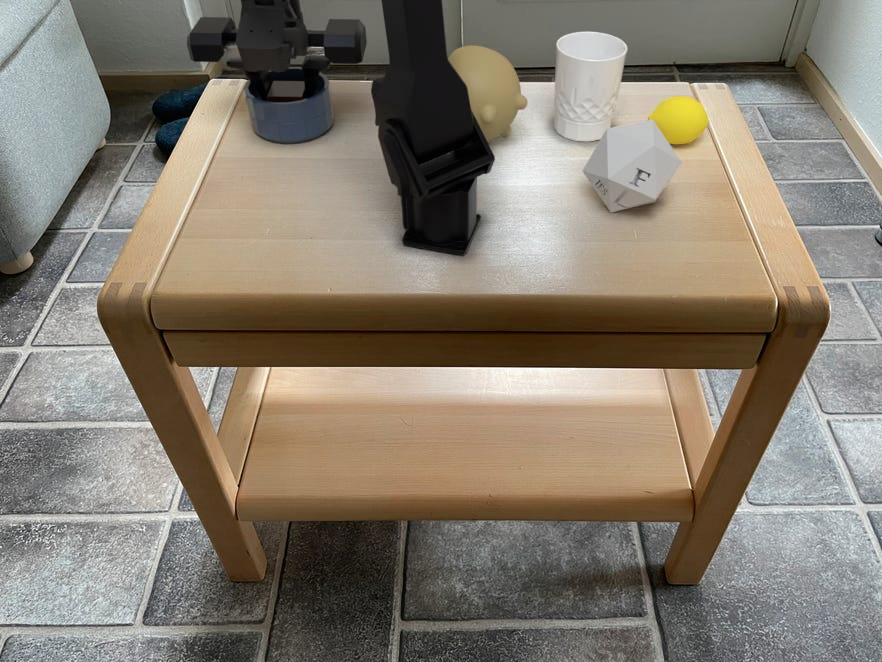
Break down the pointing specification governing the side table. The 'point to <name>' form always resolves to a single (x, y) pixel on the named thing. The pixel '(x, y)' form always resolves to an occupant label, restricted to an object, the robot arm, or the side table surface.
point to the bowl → (291, 111)
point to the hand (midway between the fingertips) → (291, 112)
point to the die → (631, 165)
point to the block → (286, 91)
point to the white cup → (587, 83)
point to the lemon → (680, 119)
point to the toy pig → (489, 88)
